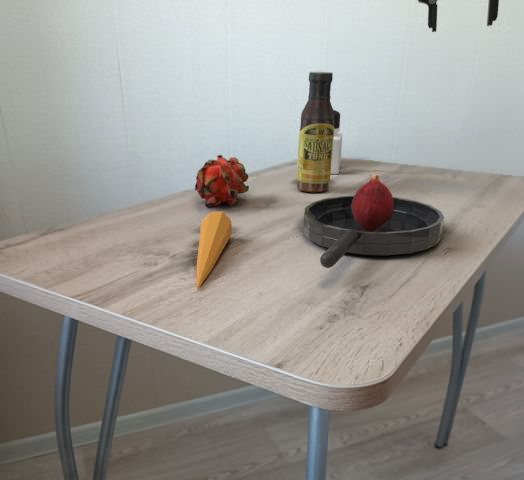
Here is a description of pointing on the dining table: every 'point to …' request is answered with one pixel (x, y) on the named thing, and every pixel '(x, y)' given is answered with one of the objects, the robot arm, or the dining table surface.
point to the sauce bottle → (316, 136)
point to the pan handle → (339, 249)
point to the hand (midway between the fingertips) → (461, 28)
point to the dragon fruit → (221, 181)
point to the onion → (372, 204)
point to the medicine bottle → (336, 145)
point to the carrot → (211, 242)
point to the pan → (383, 238)
